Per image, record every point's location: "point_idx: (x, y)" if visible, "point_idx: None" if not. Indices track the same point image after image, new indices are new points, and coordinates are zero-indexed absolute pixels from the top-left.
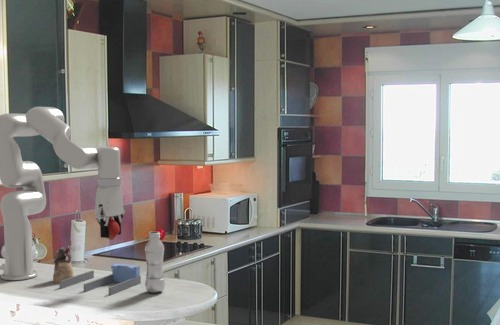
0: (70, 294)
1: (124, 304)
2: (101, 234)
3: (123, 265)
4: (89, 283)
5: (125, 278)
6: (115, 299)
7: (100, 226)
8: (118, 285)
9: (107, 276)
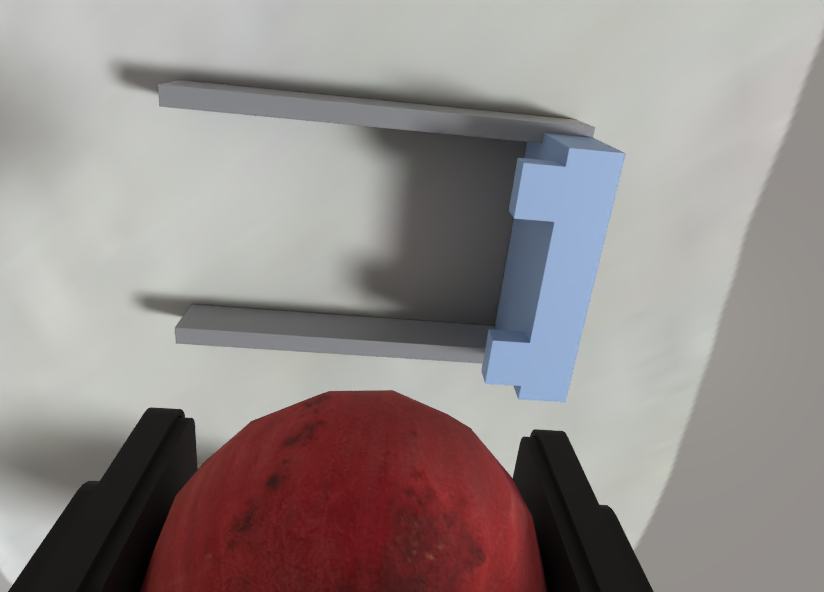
0: (62, 21)
1: (77, 478)
2: (86, 488)
3: (557, 271)
4: (215, 111)
5: (514, 258)
6: (130, 390)
7: (37, 586)
8: (271, 346)
9: (462, 135)
